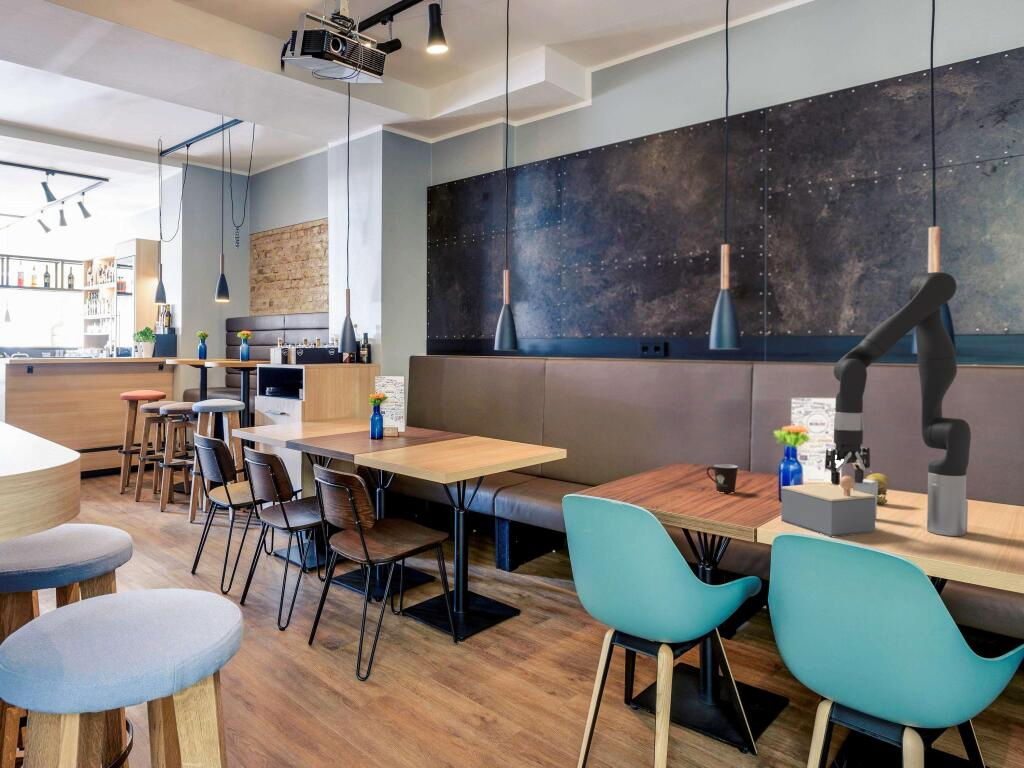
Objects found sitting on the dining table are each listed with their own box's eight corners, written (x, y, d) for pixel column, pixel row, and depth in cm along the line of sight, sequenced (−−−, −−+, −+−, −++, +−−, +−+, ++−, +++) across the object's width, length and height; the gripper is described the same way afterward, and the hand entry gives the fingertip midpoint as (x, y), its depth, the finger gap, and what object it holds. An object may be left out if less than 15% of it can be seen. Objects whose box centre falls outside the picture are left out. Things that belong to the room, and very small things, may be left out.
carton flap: (822, 484, 210) (822, 465, 210) (875, 497, 191) (875, 475, 191) (781, 488, 205) (781, 467, 205) (831, 501, 186) (832, 479, 186)
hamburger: (893, 505, 226) (894, 470, 225) (878, 507, 223) (878, 472, 222) (873, 501, 233) (874, 467, 232) (858, 502, 230) (859, 468, 230)
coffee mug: (742, 493, 246) (742, 467, 246) (722, 495, 244) (722, 468, 243) (724, 488, 257) (724, 462, 257) (704, 489, 255) (705, 463, 255)
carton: (822, 516, 210) (822, 485, 210) (874, 532, 191) (875, 498, 191) (781, 520, 205) (781, 489, 205) (831, 537, 186) (831, 502, 186)
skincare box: (851, 517, 209) (851, 479, 209) (857, 515, 212) (858, 477, 212) (871, 521, 204) (871, 482, 204) (877, 519, 207) (878, 480, 207)
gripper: (856, 426, 196) (855, 480, 196) (818, 427, 191) (817, 482, 192) (878, 428, 189) (877, 484, 189) (839, 429, 184) (838, 487, 185)
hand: (847, 483), depth 190 cm, fingers open, 8 cm apart
